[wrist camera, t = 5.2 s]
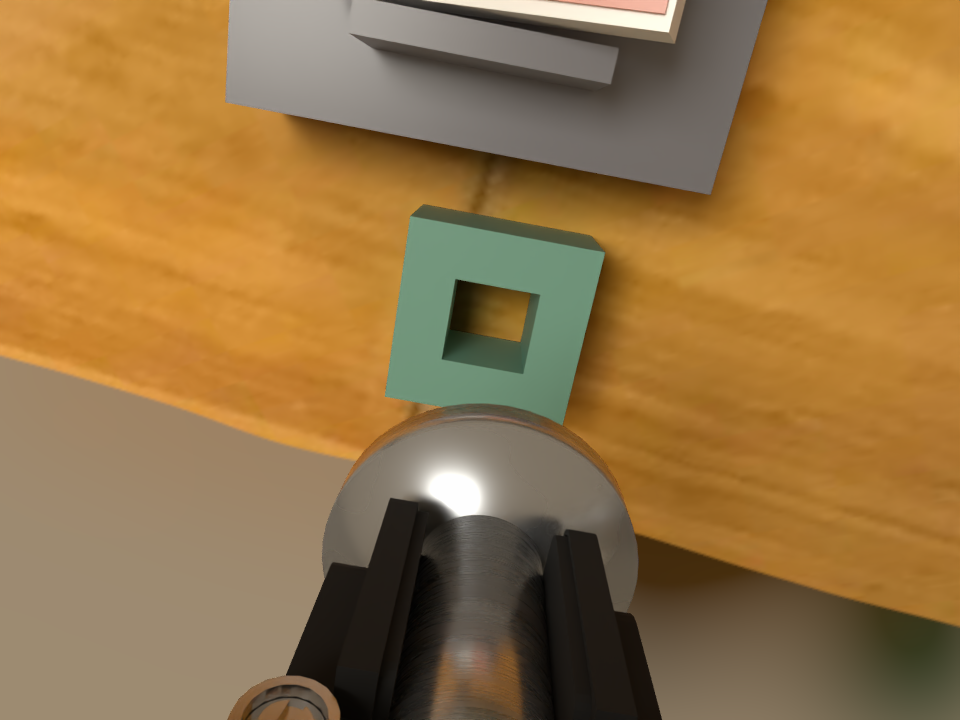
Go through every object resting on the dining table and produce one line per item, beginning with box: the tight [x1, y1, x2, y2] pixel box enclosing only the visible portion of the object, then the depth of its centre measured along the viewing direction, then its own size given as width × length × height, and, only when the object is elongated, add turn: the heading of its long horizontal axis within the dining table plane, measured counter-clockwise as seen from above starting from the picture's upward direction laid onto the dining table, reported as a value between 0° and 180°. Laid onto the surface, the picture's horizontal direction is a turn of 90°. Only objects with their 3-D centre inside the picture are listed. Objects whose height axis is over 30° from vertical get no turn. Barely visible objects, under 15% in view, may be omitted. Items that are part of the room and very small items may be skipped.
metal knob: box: [322, 404, 638, 720], centre depth 11 cm, size 6×6×12 cm
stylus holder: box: [385, 204, 605, 425], centre depth 29 cm, size 8×8×4 cm
